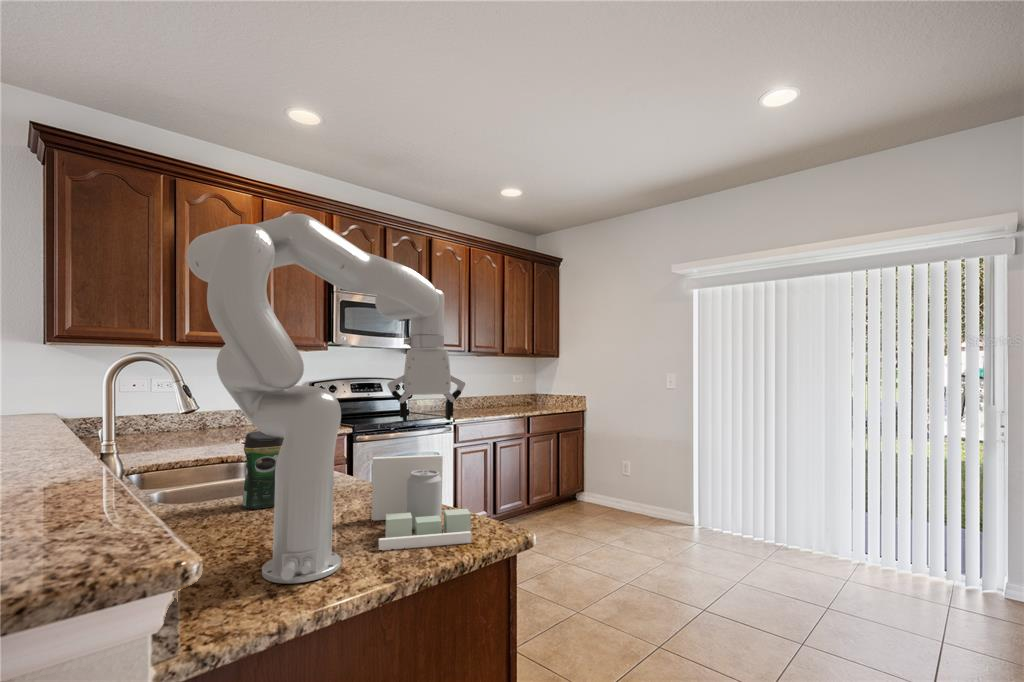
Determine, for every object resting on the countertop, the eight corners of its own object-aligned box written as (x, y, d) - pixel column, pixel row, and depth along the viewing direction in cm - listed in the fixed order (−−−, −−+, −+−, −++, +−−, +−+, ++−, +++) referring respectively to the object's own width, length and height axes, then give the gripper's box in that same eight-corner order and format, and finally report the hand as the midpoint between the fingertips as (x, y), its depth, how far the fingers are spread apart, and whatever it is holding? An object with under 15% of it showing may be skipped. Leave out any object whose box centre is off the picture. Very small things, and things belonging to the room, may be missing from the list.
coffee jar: (282, 499, 135) (284, 428, 136) (286, 506, 128) (288, 431, 129) (241, 503, 130) (243, 430, 131) (242, 511, 123) (244, 433, 124)
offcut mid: (441, 540, 105) (441, 520, 105) (416, 543, 103) (417, 522, 103) (438, 534, 108) (439, 515, 109) (414, 536, 107) (415, 517, 107)
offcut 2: (470, 538, 106) (470, 513, 106) (446, 540, 105) (446, 515, 105) (466, 532, 110) (467, 508, 110) (443, 534, 109) (443, 510, 109)
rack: (471, 542, 103) (472, 472, 104) (373, 551, 98) (375, 477, 99) (452, 512, 124) (453, 454, 125) (371, 518, 119) (373, 457, 120)
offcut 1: (411, 543, 103) (412, 517, 103) (386, 545, 101) (386, 519, 102) (410, 536, 107) (410, 512, 107) (385, 538, 105) (385, 514, 106)
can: (402, 531, 110) (403, 474, 110) (410, 520, 117) (411, 467, 118) (437, 532, 110) (438, 475, 110) (443, 521, 117) (444, 468, 118)
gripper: (388, 342, 110) (387, 423, 109) (468, 343, 114) (467, 421, 114) (387, 343, 117) (386, 419, 116) (462, 344, 122) (461, 417, 121)
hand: (426, 420), depth 115 cm, fingers open, 9 cm apart
